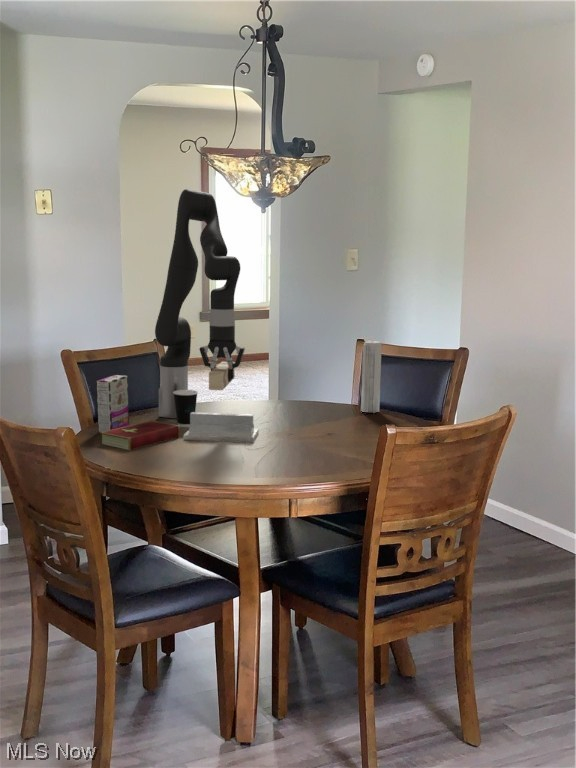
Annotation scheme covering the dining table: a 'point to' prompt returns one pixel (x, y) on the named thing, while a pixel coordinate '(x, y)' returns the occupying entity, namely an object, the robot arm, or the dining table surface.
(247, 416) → the ridge
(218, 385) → the beech batten
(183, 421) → the dixie cup
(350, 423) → the dining table surface
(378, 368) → the air filter
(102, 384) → the candy bar box
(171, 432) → the hardcover book
